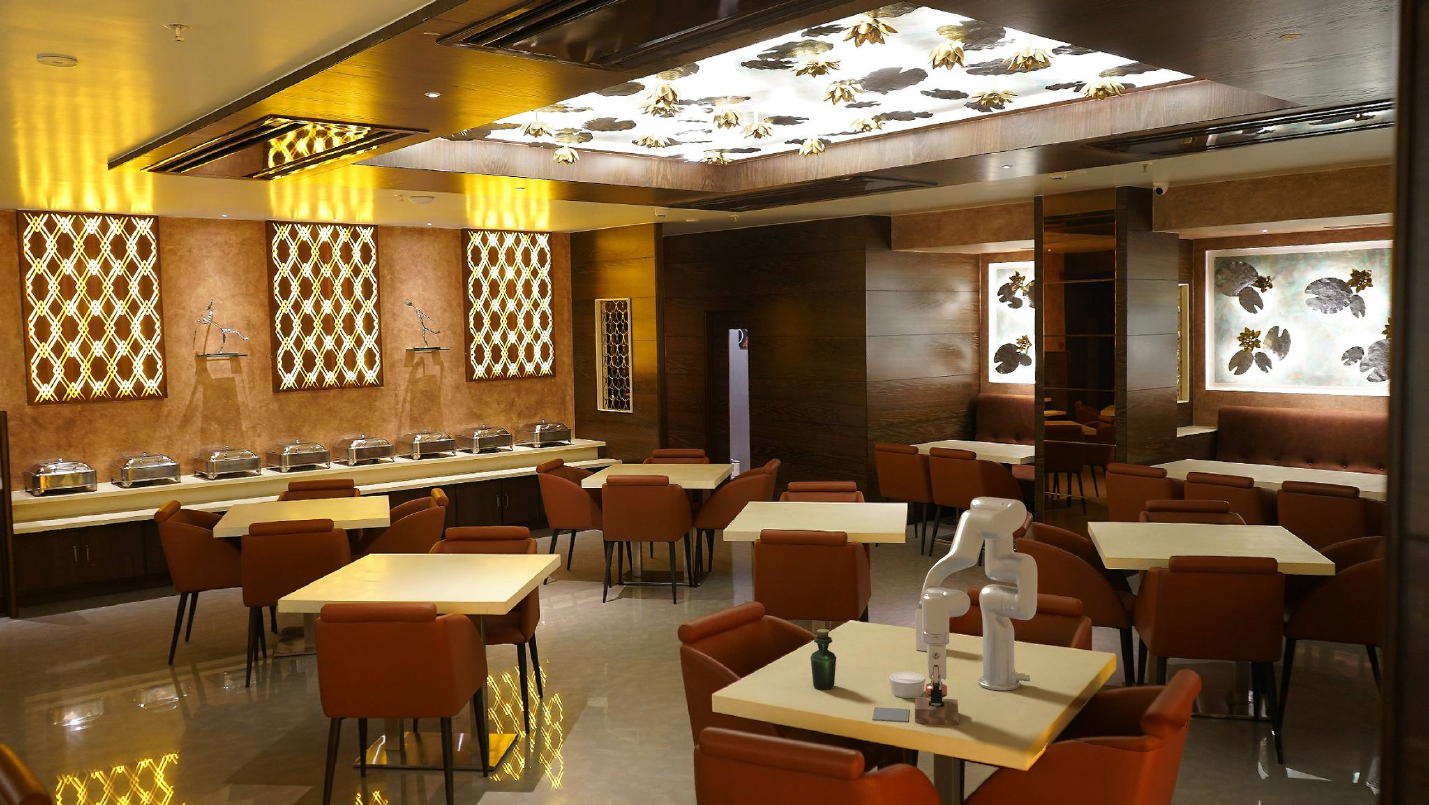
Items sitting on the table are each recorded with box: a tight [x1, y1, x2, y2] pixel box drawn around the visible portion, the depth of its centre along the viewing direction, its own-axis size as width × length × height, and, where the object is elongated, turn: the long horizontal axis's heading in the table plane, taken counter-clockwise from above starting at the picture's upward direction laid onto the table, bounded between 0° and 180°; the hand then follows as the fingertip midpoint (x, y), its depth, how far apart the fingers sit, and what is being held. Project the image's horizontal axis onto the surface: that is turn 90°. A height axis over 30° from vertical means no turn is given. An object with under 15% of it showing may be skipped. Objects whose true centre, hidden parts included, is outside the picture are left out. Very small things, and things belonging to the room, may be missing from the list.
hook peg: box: [925, 682, 948, 707], centre depth 295 cm, size 6×6×9 cm
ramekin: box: [888, 671, 926, 699], centre depth 316 cm, size 11×11×5 cm
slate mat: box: [871, 706, 910, 723], centre depth 298 cm, size 10×10×1 cm
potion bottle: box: [809, 628, 837, 691], centre depth 324 cm, size 8×8×18 cm
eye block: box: [914, 696, 959, 726], centre depth 295 cm, size 12×10×4 cm
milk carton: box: [915, 600, 927, 652], centre depth 362 cm, size 7×7×19 cm
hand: (936, 698), depth 295 cm, fingers closed on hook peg, 6 cm apart
